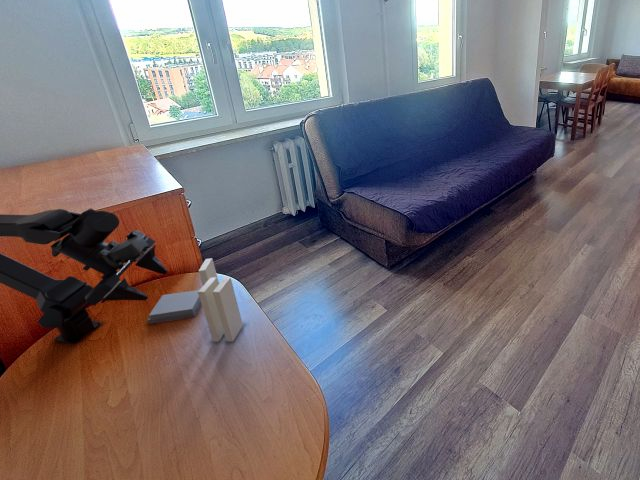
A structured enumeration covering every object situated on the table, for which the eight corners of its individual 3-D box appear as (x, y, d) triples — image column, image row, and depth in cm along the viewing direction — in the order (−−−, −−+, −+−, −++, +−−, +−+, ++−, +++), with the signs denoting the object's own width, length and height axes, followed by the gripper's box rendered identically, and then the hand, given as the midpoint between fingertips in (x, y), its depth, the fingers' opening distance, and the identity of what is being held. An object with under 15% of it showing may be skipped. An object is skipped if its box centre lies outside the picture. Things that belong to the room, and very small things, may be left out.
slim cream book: (212, 318, 91) (198, 271, 85) (218, 304, 96) (205, 258, 90) (218, 317, 91) (205, 270, 86) (224, 303, 96) (212, 258, 90)
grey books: (148, 324, 89) (145, 316, 88) (163, 302, 96) (160, 295, 95) (194, 316, 91) (192, 309, 90) (205, 295, 99) (203, 289, 98)
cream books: (212, 341, 84) (197, 291, 78) (224, 325, 89) (210, 277, 83) (232, 341, 84) (219, 292, 78) (243, 325, 89) (230, 277, 83)
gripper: (85, 255, 69) (158, 292, 75) (138, 210, 86) (194, 243, 92) (52, 288, 70) (126, 322, 76) (111, 237, 87) (168, 268, 93)
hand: (157, 285), depth 84 cm, fingers open, 9 cm apart
